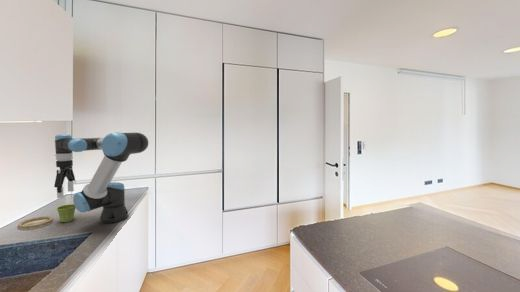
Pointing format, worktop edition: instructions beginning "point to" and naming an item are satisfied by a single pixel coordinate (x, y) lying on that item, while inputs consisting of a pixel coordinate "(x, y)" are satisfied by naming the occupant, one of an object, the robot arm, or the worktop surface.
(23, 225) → the round wooden tray
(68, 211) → the plant pot
